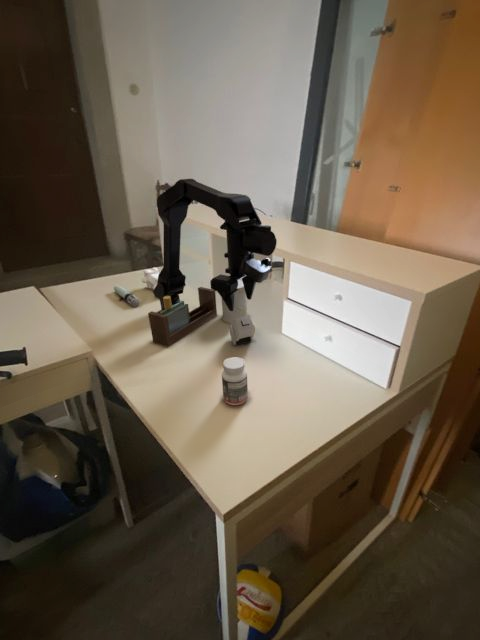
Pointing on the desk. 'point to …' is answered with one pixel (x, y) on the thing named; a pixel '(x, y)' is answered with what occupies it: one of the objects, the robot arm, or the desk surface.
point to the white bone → (151, 277)
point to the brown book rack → (183, 319)
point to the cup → (236, 305)
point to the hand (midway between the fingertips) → (240, 304)
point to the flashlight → (126, 296)
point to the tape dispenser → (242, 330)
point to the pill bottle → (234, 381)
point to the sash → (170, 305)
